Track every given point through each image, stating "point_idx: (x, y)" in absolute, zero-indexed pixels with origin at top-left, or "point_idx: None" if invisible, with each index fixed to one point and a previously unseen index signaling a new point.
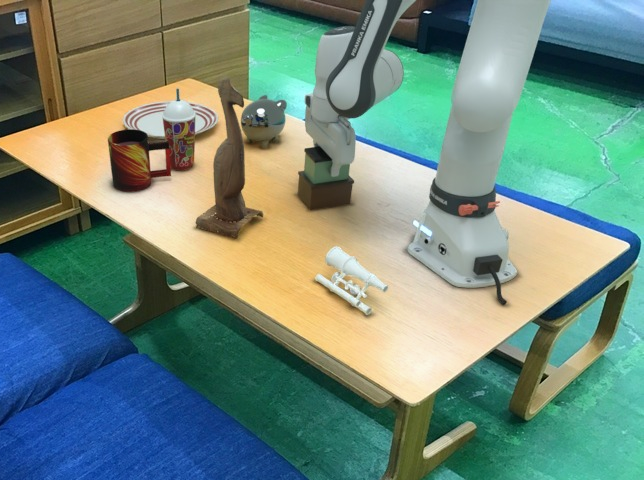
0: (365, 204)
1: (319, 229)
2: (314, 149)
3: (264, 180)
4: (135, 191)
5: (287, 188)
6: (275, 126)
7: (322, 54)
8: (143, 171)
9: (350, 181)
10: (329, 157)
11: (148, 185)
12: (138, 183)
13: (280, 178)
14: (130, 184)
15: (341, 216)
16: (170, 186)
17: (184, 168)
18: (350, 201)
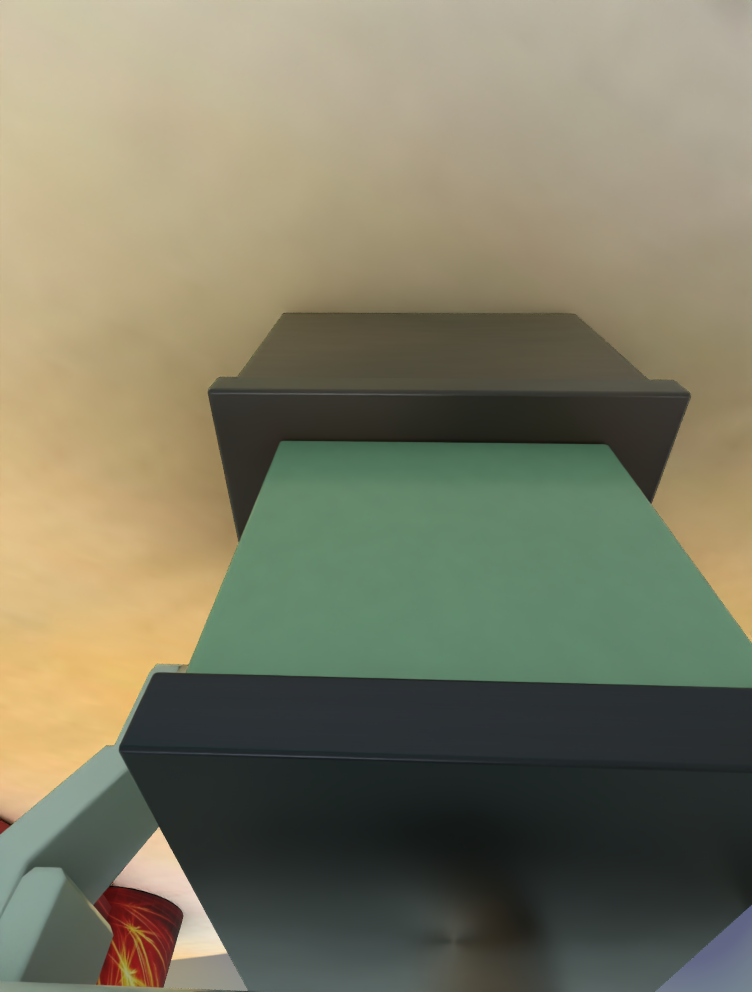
0: (653, 167)
1: (736, 607)
2: (325, 989)
3: (105, 656)
4: (181, 913)
5: (216, 596)
6: None
7: None
8: (140, 981)
9: (672, 441)
10: (669, 975)
11: (149, 900)
12: (168, 940)
13: (77, 589)
14: (173, 949)
15: (696, 451)
16: (150, 865)
17: None
18: (582, 321)
